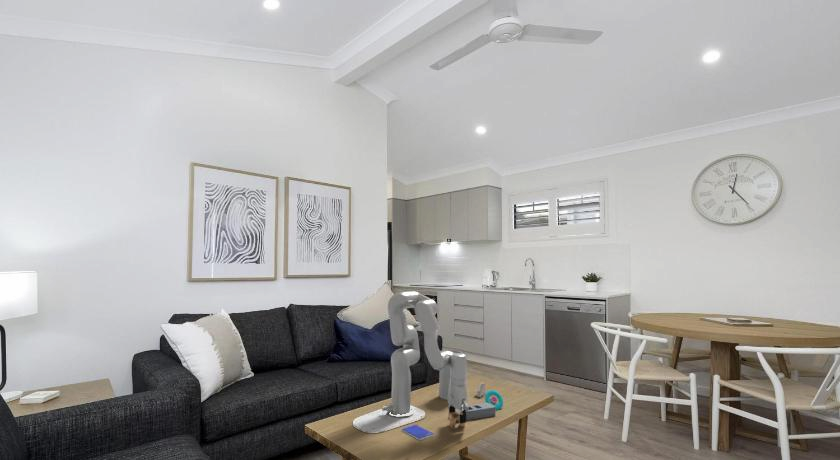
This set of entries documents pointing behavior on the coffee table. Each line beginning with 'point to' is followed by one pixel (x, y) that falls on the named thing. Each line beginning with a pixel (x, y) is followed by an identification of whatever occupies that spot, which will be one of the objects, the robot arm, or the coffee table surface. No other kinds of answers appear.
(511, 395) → the coffee table surface
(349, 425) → the coffee table surface
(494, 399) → the ornament
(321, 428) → the coffee table surface
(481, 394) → the architectural model
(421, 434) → the hard drive
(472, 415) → the grey slotted block
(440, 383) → the cylinder vase
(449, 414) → the clip
